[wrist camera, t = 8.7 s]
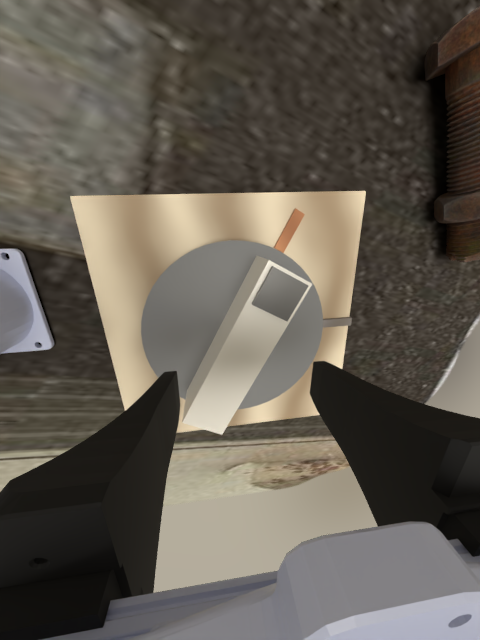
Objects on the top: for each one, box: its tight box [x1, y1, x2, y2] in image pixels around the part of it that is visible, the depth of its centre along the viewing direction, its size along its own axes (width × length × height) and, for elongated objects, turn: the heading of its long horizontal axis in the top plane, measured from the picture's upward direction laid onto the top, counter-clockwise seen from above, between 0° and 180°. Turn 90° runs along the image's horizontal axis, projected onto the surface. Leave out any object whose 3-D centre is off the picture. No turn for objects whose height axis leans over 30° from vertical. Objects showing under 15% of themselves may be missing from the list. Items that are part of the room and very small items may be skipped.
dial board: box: [70, 191, 366, 433], centre depth 20 cm, size 20×20×2 cm
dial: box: [141, 240, 323, 435], centre depth 16 cm, size 14×14×5 cm
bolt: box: [425, 7, 480, 262], centre depth 17 cm, size 6×5×15 cm
